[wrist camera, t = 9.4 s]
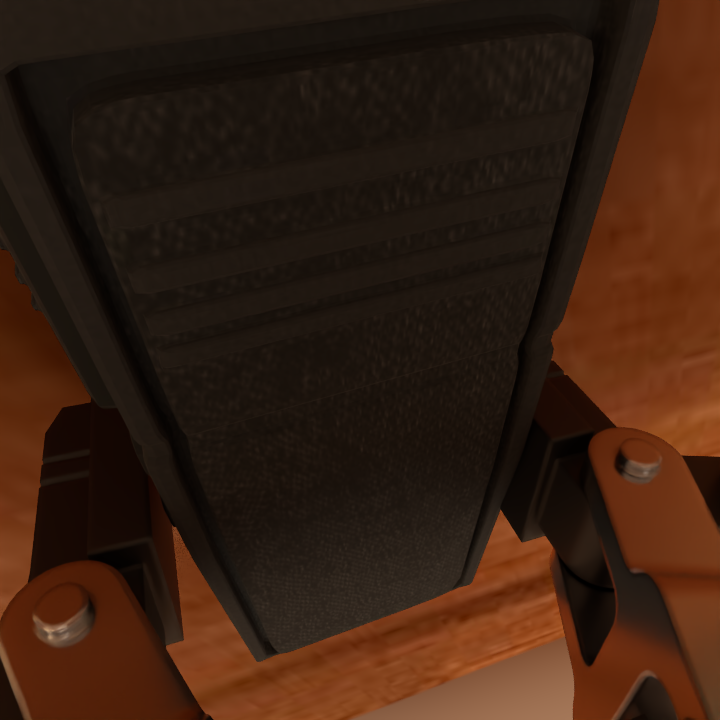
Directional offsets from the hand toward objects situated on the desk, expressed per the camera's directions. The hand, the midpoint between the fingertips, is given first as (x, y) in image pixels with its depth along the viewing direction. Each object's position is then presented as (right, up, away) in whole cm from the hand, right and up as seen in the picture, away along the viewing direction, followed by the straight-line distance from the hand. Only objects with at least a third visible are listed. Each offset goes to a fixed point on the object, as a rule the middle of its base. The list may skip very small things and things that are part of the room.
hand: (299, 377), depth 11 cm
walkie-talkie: (-1, +5, -2) cm, 5 cm away
